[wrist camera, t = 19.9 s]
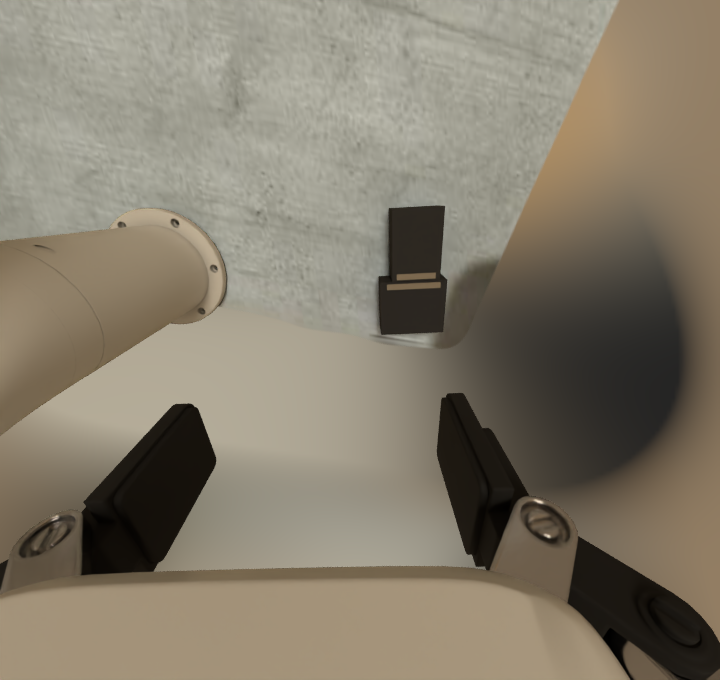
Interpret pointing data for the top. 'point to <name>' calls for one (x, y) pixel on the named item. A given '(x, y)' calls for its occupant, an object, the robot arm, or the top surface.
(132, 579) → the robot arm
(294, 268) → the top surface
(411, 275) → the black box
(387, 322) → the charcoal pad
